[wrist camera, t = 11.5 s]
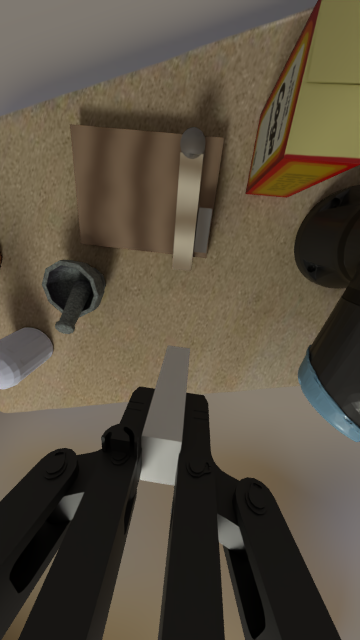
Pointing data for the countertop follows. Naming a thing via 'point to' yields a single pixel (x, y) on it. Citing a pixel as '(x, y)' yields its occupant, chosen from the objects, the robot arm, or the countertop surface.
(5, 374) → the soap bottle
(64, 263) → the mortar and pestle
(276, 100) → the baking soda box
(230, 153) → the countertop surface
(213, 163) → the stool seat
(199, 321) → the countertop surface
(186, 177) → the hinged leg
